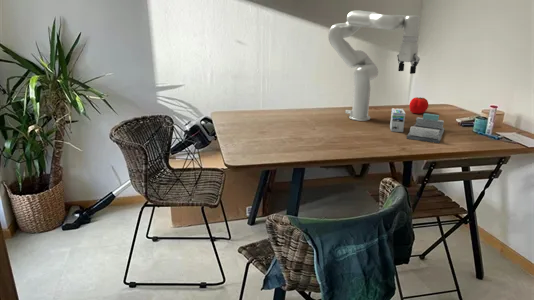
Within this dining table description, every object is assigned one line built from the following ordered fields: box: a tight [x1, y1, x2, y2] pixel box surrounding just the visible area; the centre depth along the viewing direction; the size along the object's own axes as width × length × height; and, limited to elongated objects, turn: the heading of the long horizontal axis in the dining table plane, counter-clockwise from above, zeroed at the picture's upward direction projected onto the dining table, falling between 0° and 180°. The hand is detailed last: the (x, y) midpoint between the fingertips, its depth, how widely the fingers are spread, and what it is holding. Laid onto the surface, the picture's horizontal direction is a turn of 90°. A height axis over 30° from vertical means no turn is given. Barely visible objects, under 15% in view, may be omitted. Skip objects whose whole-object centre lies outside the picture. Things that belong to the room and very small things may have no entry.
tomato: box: [408, 96, 429, 115], centre depth 270 cm, size 11×13×10 cm
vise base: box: [406, 123, 445, 144], centre depth 228 cm, size 16×25×6 cm, turn 153°
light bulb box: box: [389, 107, 407, 133], centre depth 235 cm, size 11×7×11 cm, turn 168°
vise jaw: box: [415, 112, 445, 129], centre depth 237 cm, size 14×6×6 cm, turn 63°
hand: (406, 72), depth 232 cm, fingers open, 9 cm apart
